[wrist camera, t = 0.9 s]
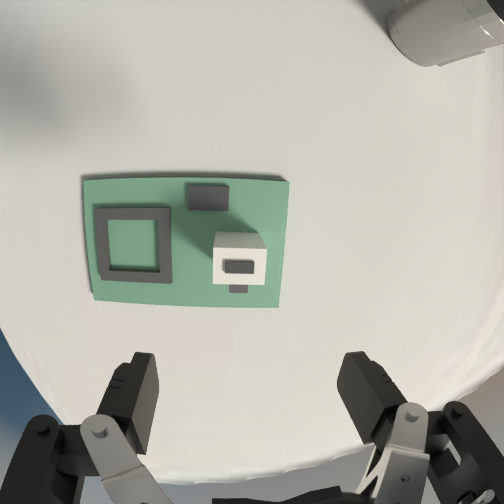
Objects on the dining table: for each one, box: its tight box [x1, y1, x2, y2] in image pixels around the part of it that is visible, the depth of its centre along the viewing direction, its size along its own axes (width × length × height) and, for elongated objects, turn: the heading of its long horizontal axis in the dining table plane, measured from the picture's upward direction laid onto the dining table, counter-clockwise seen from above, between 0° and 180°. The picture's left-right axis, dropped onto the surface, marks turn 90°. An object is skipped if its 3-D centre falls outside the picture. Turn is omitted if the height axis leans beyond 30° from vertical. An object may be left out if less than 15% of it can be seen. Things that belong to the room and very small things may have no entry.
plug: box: [213, 231, 267, 293], centre depth 26 cm, size 4×4×6 cm
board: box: [84, 177, 289, 308], centre depth 29 cm, size 22×14×2 cm, turn 87°
